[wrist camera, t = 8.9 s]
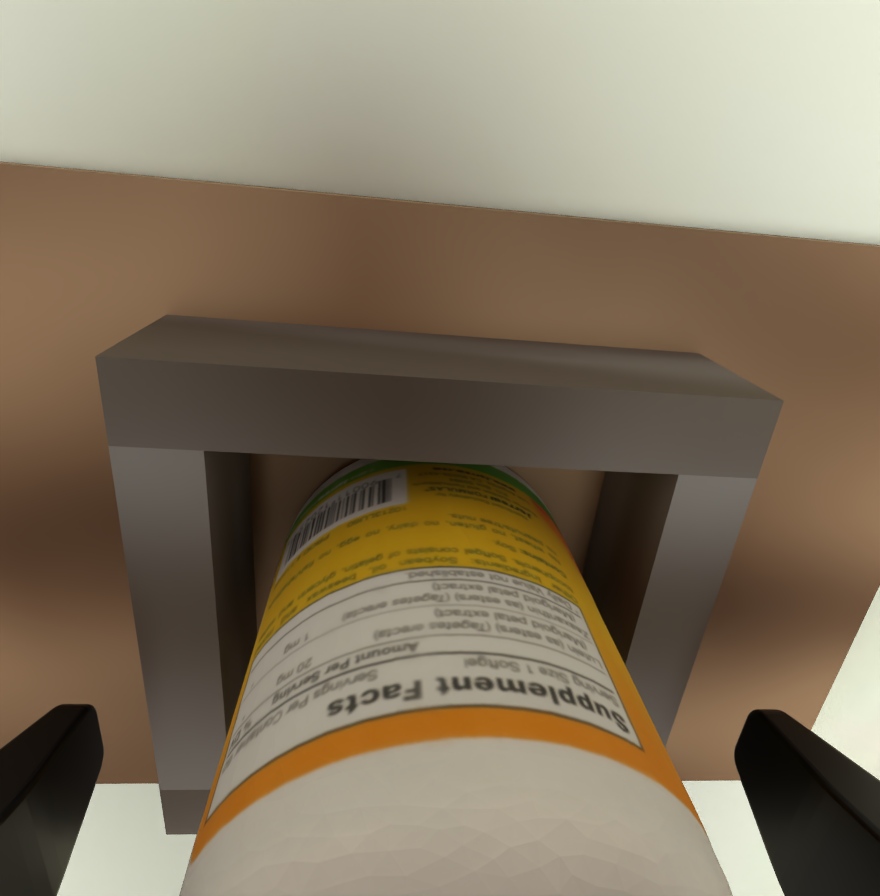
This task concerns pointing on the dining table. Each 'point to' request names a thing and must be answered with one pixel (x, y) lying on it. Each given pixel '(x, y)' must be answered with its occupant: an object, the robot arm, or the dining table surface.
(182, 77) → the dining table surface
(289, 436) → the can holder
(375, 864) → the supplement bottle
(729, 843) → the dining table surface
